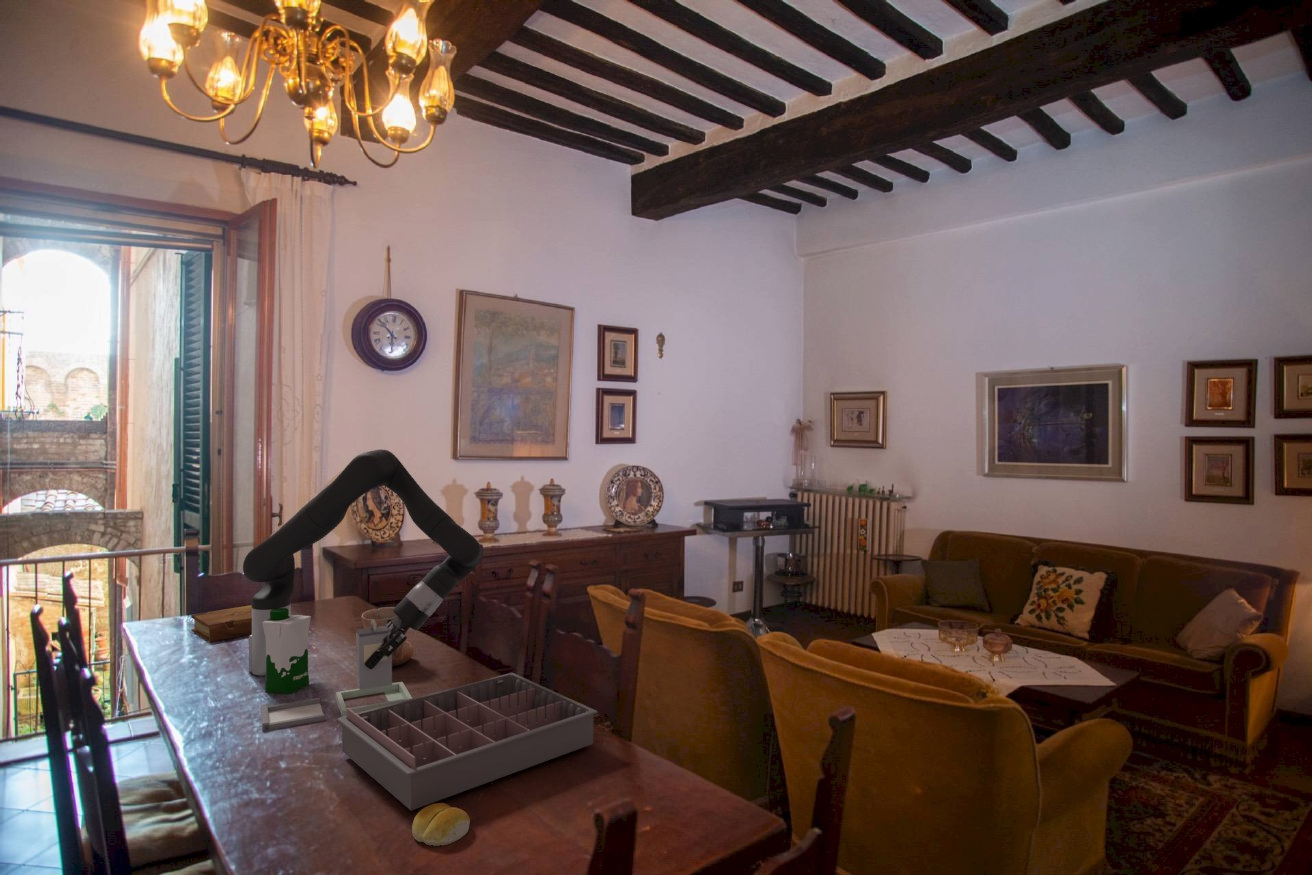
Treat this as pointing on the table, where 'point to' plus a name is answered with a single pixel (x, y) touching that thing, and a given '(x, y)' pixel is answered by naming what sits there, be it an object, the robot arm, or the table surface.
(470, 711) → the organizer tray
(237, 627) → the diary
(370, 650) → the labeled grey carton
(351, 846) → the table surface
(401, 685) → the tray
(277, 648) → the milk carton
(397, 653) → the ceramic jug
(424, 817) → the bread roll
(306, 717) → the bay
